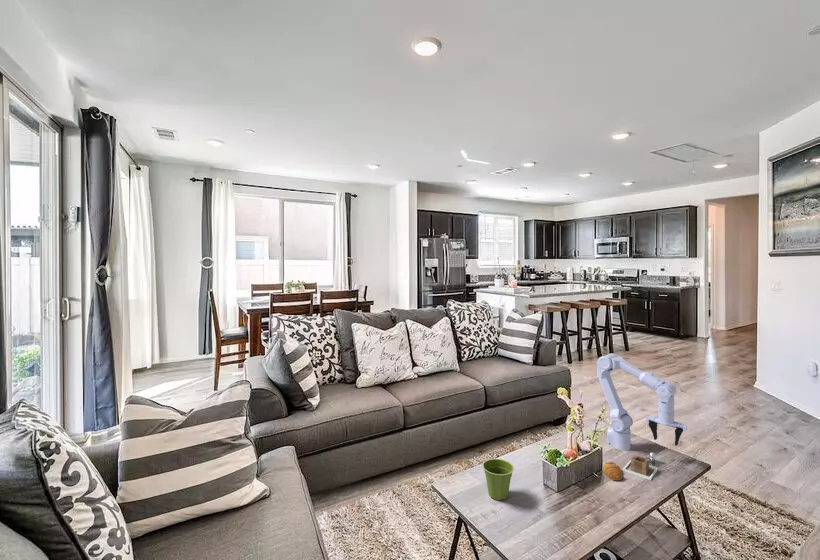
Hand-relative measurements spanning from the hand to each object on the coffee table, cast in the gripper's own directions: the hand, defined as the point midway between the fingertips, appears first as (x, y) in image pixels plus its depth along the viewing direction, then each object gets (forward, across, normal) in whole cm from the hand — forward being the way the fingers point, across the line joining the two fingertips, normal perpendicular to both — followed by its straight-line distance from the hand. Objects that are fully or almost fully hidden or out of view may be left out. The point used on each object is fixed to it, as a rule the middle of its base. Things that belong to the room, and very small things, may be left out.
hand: (665, 441), depth 164 cm
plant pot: (+10, -40, -68) cm, 80 cm away
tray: (+10, -6, -14) cm, 19 cm away
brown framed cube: (+9, -6, -14) cm, 18 cm away
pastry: (+10, -14, -23) cm, 29 cm away
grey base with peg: (+10, -4, -4) cm, 11 cm away
